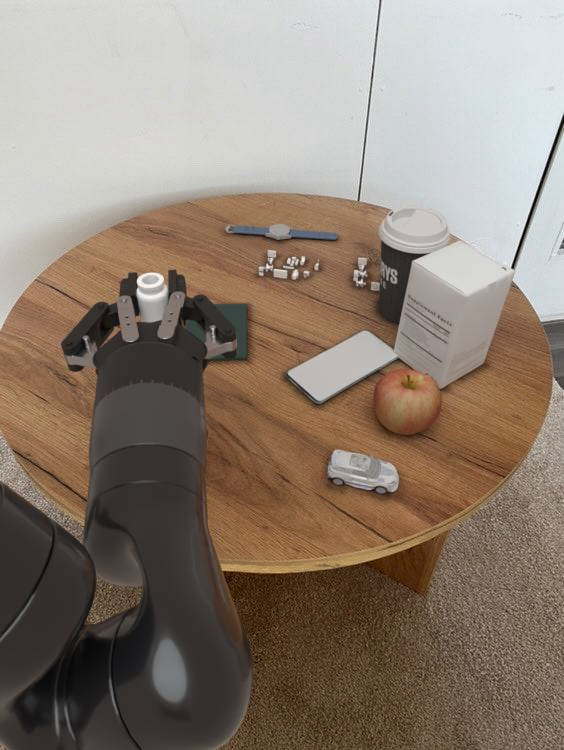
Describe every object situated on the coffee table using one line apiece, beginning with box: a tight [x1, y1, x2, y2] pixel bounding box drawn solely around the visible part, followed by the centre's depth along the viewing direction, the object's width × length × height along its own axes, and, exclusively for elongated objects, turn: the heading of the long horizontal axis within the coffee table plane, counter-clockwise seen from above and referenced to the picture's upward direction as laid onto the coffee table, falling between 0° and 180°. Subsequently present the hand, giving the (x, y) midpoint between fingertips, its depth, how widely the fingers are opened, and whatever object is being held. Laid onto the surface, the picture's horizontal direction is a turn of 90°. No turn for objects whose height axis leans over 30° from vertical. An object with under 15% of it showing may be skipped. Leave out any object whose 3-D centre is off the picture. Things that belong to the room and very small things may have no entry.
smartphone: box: [285, 329, 399, 405], centre depth 78 cm, size 7×1×15 cm
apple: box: [373, 368, 443, 436], centre depth 68 cm, size 8×8×8 cm
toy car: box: [326, 449, 400, 495], centre depth 64 cm, size 4×8×3 cm, turn 76°
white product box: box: [393, 240, 516, 390], centre depth 74 cm, size 9×9×15 cm
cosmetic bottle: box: [136, 272, 209, 447], centre depth 56 cm, size 6×6×22 cm
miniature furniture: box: [258, 249, 380, 292], centre depth 93 cm, size 7×25×2 cm, turn 77°
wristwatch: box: [224, 223, 339, 241], centre depth 102 cm, size 4×20×1 cm, turn 83°
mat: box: [186, 303, 248, 362], centre depth 83 cm, size 14×12×1 cm
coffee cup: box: [377, 205, 451, 325], centre depth 82 cm, size 10×10×15 cm
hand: (153, 279), depth 51 cm, fingers closed on cosmetic bottle, 3 cm apart
